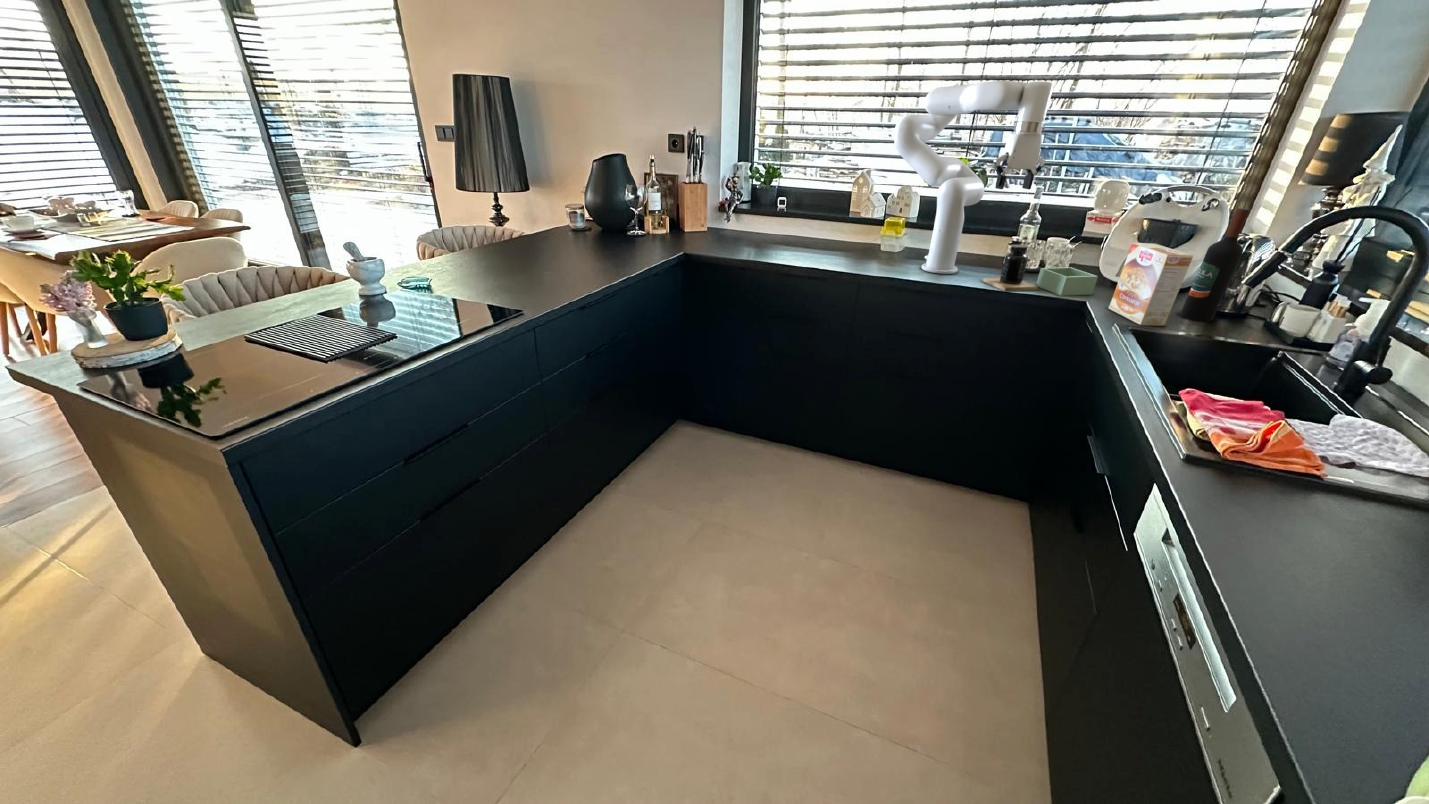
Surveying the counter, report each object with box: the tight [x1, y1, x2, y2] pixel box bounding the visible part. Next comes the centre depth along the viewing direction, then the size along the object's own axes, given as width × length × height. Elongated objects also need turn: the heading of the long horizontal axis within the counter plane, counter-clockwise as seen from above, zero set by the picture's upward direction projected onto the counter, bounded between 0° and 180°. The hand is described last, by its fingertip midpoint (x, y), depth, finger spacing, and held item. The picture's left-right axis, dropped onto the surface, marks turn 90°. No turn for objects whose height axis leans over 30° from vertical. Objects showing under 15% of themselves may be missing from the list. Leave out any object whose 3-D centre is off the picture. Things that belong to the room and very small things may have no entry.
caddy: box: [1035, 266, 1099, 297], centre depth 182 cm, size 12×12×6 cm
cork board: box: [982, 276, 1039, 292], centre depth 187 cm, size 12×12×1 cm
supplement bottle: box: [1000, 244, 1029, 284], centre depth 184 cm, size 7×7×12 cm
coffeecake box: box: [1108, 242, 1194, 327], centre depth 155 cm, size 15×7×20 cm, turn 178°
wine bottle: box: [1179, 207, 1251, 323], centre depth 154 cm, size 8×8×30 cm
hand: (1012, 188), depth 176 cm, fingers open, 9 cm apart
